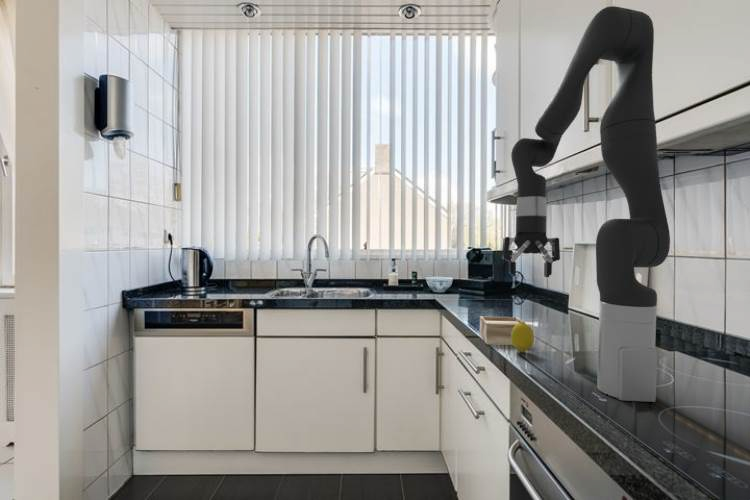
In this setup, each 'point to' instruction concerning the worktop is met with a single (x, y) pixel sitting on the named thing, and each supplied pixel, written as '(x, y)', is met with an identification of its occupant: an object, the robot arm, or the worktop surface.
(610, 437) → the worktop surface
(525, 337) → the lemon
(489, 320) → the wooden box
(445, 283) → the chinaware
